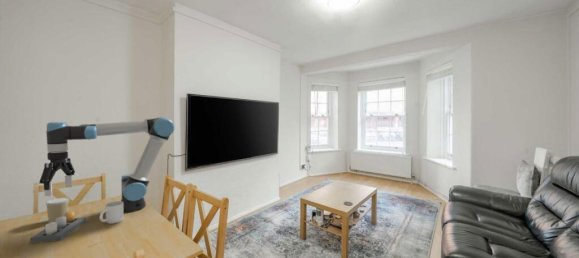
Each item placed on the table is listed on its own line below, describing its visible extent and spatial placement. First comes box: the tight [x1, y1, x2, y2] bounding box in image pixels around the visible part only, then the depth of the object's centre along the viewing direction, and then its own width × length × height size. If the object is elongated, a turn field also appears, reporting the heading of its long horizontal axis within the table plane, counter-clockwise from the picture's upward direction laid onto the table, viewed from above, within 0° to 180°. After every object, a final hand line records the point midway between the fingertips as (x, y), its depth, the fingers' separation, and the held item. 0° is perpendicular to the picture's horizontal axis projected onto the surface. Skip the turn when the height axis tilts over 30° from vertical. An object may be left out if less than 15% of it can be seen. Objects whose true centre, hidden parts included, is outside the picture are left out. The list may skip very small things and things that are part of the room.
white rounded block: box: [44, 222, 57, 235], centre depth 113 cm, size 4×4×5 cm
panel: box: [30, 217, 87, 244], centre depth 120 cm, size 12×20×2 cm, turn 14°
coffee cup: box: [45, 197, 70, 223], centre depth 131 cm, size 9×9×12 cm
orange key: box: [65, 210, 76, 223], centre depth 126 cm, size 4×4×5 cm
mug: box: [99, 200, 125, 225], centre depth 131 cm, size 12×8×10 cm
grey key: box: [55, 216, 66, 229], centre depth 120 cm, size 4×4×5 cm
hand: (59, 191), depth 119 cm, fingers open, 13 cm apart
